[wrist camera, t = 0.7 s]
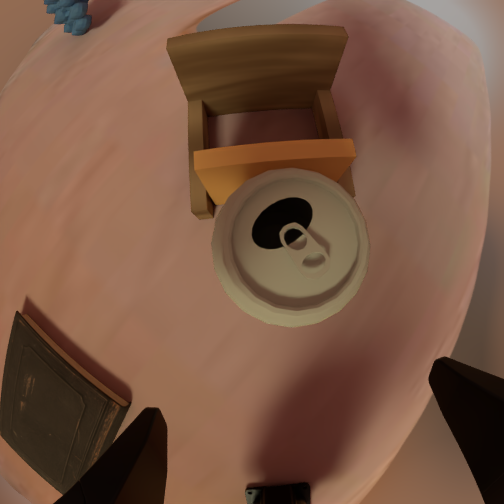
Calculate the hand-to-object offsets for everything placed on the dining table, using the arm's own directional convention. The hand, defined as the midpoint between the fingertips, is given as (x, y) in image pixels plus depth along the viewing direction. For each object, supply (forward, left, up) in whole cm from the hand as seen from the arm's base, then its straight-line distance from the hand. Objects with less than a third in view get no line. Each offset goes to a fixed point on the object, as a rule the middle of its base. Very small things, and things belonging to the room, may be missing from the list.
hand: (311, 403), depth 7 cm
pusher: (+10, -1, -15) cm, 18 cm away
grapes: (+43, +23, -15) cm, 52 cm away
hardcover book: (-12, +28, -16) cm, 34 cm away
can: (+5, -1, -16) cm, 16 cm away
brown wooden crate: (+14, -1, -15) cm, 21 cm away
